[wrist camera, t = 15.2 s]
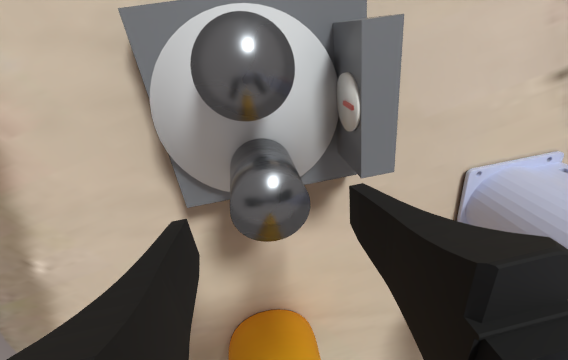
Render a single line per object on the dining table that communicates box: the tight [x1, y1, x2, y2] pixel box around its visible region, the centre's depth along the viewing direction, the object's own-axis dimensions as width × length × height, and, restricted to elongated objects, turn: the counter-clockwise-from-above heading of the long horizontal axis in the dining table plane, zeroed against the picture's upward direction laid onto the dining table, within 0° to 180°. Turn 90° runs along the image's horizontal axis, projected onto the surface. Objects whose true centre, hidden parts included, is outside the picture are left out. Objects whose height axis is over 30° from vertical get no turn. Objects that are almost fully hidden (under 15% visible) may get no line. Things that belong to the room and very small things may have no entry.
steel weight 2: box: [230, 138, 310, 242], centre depth 16 cm, size 4×4×5 cm
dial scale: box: [118, 0, 404, 208], centre depth 17 cm, size 13×12×6 cm
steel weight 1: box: [190, 11, 295, 121], centre depth 13 cm, size 4×4×5 cm
